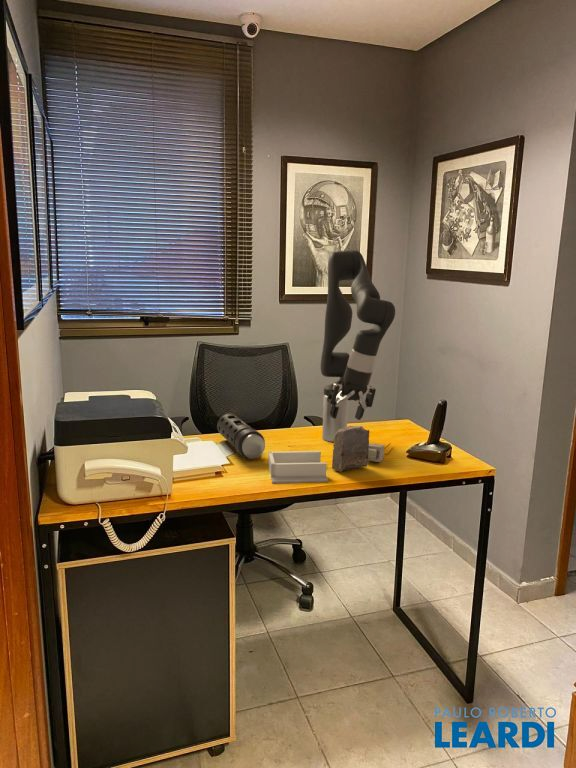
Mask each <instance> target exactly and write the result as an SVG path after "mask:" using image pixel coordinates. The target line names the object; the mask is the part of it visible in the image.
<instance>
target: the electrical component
mask: <svg viewBox="0 0 576 768" xmlns="http://www.w3.org/2000/svg"><path fill="white" fill-rule="evenodd" d="M391 444H392V443H391V442H389V444H387V446H385V444H377V443H376V444H375V443H369V449H368V462H369V461H370V462H376V463H380V462H382V461H383V460H384V456H386V455H388V454H390V453H391V452H392V450H393V448H394V445H392V447H391V448H390V450H389V451H388V452H387V453H385V450H386V449H387V448H388V447H389V446H390V445H391Z"/></svg>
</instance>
